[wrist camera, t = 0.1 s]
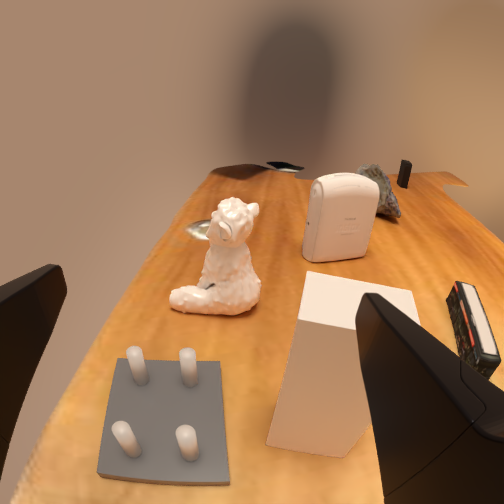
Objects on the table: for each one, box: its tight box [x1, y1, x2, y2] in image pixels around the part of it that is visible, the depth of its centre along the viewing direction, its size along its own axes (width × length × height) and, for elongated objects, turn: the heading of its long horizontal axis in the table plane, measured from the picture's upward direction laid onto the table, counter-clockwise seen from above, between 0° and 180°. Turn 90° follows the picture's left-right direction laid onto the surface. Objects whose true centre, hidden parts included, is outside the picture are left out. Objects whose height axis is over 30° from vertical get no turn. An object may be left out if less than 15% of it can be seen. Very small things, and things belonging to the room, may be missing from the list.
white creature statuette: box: [170, 197, 262, 315], centre depth 32 cm, size 10×9×12 cm
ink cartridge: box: [397, 160, 412, 188], centre depth 85 cm, size 5×2×8 cm, turn 168°
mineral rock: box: [355, 164, 401, 218], centre depth 61 cm, size 13×11×10 cm
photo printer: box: [302, 173, 380, 262], centre depth 42 cm, size 10×4×12 cm, turn 107°
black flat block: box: [446, 281, 501, 380], centre depth 31 cm, size 14×25×4 cm, turn 160°
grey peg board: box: [97, 346, 230, 486], centre depth 19 cm, size 11×9×4 cm
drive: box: [265, 271, 421, 458], centre depth 18 cm, size 4×6×13 cm, turn 76°
